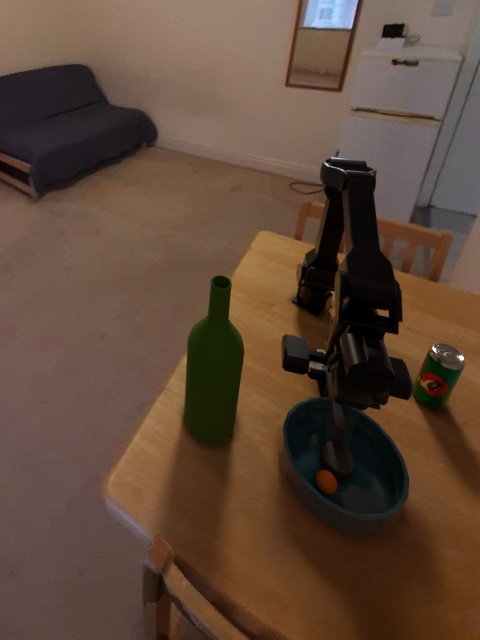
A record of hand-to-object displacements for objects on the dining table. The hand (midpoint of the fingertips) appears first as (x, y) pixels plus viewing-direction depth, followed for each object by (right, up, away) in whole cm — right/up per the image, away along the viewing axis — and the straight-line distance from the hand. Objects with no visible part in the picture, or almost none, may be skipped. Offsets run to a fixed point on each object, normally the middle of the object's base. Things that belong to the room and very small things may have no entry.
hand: (332, 396), depth 70 cm
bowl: (-2, -9, -6) cm, 11 cm away
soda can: (+20, -3, +5) cm, 21 cm away
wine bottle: (-21, -6, +3) cm, 22 cm away
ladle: (-1, -6, -1) cm, 6 cm away
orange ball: (-6, -8, -9) cm, 13 cm away
